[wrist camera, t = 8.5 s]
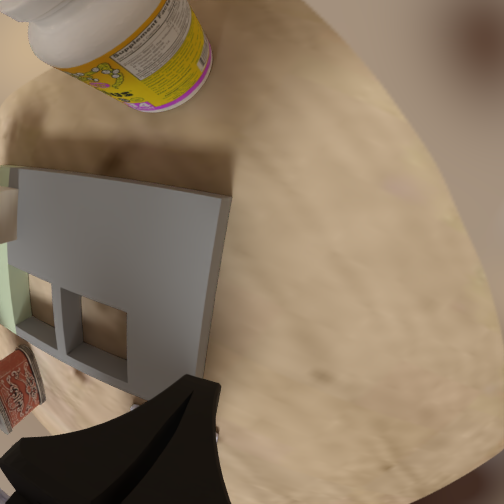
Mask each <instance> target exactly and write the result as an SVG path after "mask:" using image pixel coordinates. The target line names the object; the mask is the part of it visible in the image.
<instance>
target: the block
mask: <svg viewBox="0 0 504 504" xmlns="http://www.w3.org/2000/svg"><path fill="white" fill-rule="evenodd" d="M18 190H19V189H16V188H10V187H5V186H0V244H3V243H6V242H10V241H14V240H17V207H18Z"/></svg>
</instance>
